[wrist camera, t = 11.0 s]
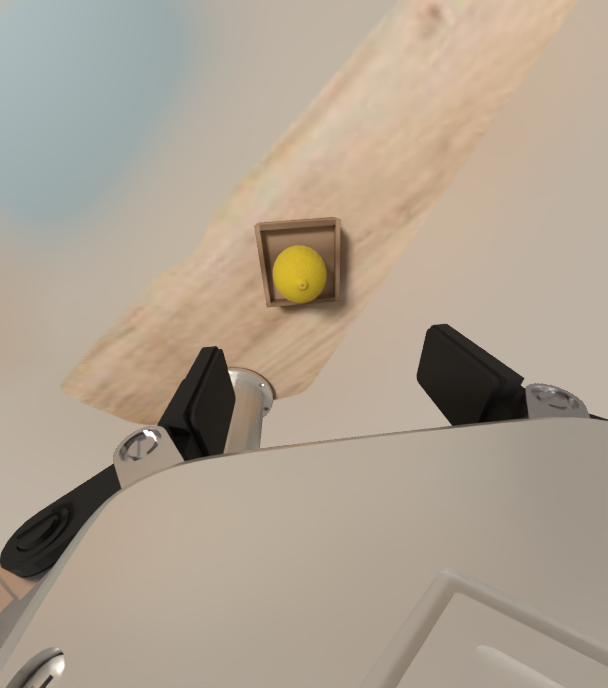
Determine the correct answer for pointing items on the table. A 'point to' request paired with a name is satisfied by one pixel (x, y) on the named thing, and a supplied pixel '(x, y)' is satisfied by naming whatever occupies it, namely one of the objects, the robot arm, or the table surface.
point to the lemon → (299, 274)
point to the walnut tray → (300, 232)
